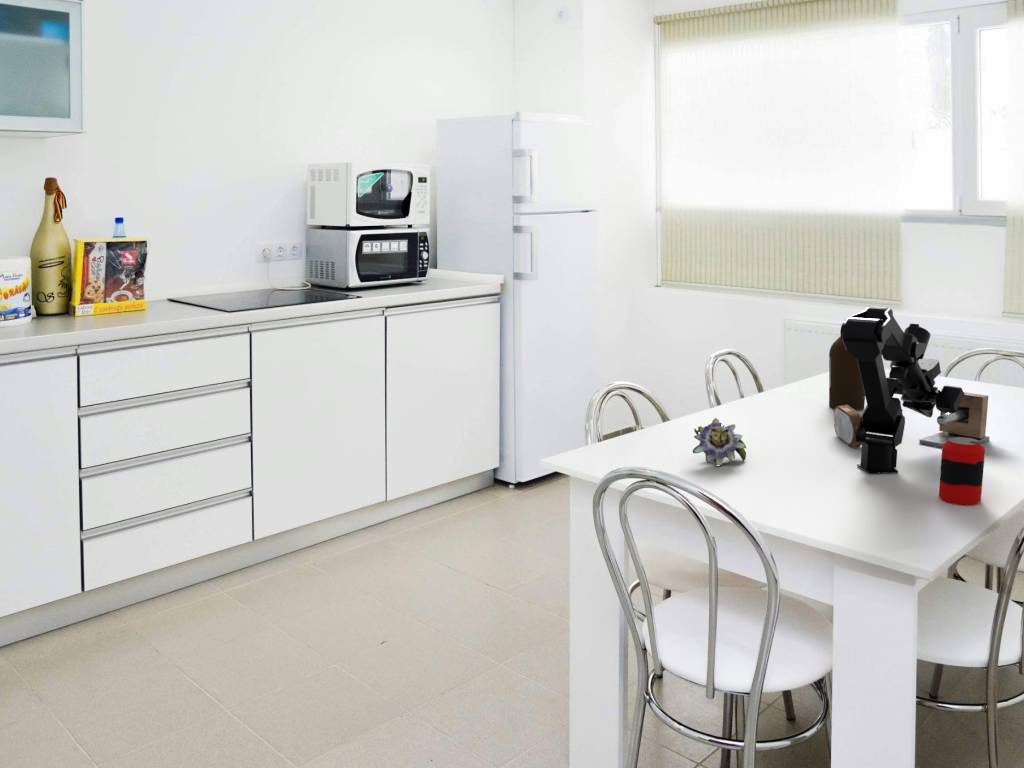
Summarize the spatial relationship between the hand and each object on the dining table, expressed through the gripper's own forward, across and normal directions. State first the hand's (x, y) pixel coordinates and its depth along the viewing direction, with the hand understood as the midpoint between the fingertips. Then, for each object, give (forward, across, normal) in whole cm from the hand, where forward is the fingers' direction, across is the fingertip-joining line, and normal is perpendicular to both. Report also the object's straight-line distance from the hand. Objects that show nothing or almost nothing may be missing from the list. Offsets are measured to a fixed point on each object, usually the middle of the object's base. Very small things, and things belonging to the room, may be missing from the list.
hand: (930, 415), depth 226 cm
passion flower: (-28, +25, +40) cm, 54 cm away
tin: (-3, +15, +13) cm, 20 cm away
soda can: (-19, -25, +30) cm, 44 cm away
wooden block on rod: (+11, -3, -3) cm, 12 cm away
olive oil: (+20, +36, -11) cm, 42 cm away
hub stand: (+10, -3, 0) cm, 10 cm away
